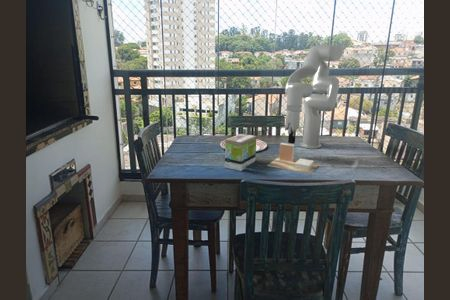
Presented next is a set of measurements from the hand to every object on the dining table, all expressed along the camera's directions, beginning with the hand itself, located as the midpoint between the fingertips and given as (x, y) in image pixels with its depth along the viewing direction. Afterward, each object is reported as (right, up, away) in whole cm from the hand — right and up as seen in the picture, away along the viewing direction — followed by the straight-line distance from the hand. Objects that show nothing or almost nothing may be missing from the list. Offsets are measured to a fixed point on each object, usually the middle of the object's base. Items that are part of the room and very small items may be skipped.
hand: (291, 142), depth 171 cm
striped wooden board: (-1, -12, -10) cm, 16 cm away
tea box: (-27, -12, -7) cm, 31 cm away
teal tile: (+6, -10, -10) cm, 15 cm away
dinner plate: (-24, -3, +21) cm, 32 cm away
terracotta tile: (-3, -9, -3) cm, 10 cm away
